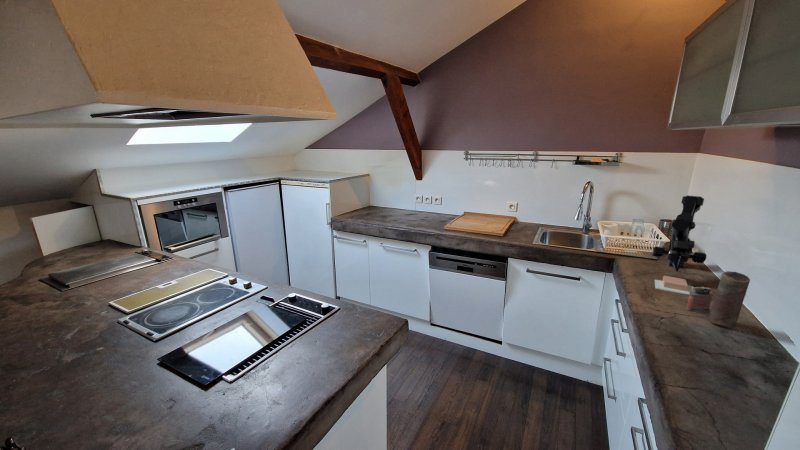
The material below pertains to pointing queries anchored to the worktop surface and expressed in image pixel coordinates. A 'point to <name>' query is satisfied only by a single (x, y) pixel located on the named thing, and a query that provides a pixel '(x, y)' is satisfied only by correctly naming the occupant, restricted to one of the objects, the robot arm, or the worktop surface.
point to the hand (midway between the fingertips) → (676, 271)
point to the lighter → (699, 299)
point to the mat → (660, 286)
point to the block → (675, 283)
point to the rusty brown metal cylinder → (729, 299)
